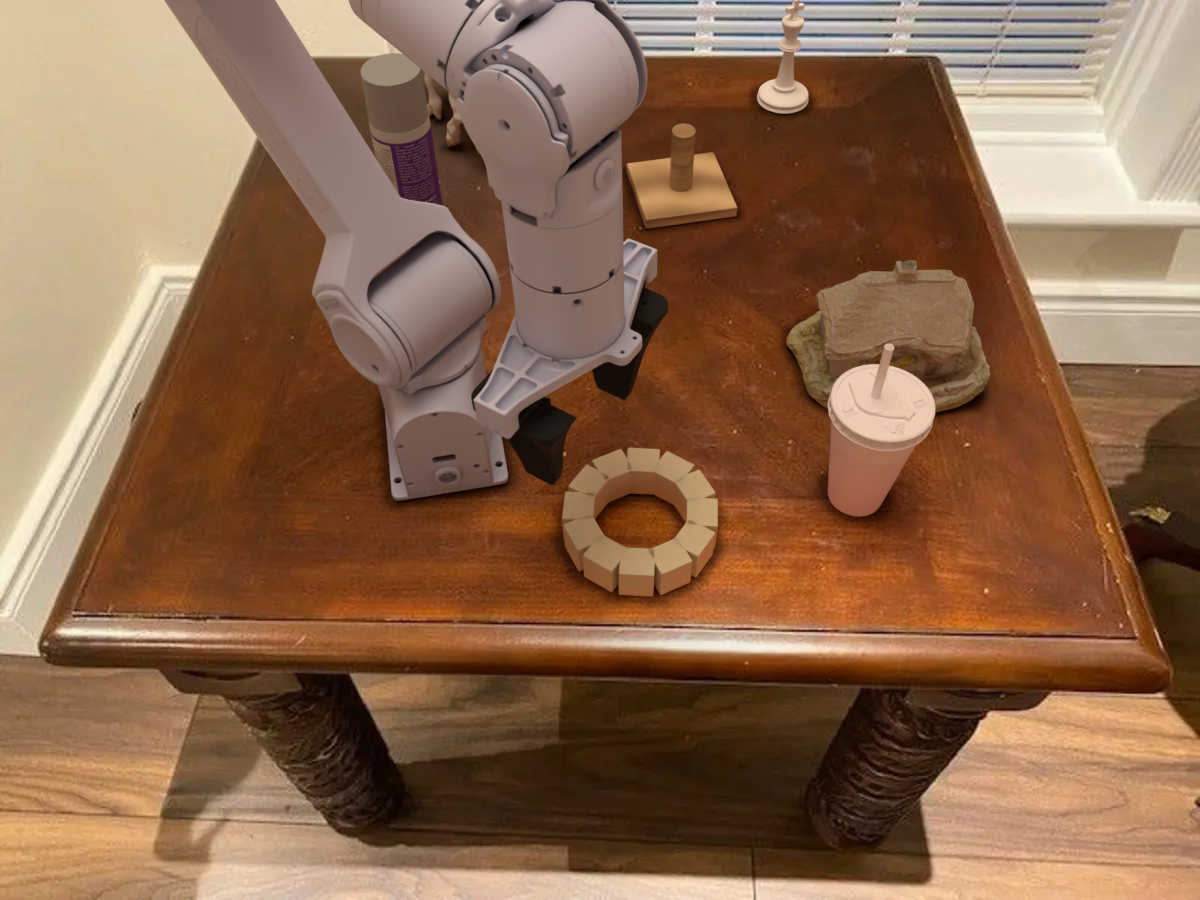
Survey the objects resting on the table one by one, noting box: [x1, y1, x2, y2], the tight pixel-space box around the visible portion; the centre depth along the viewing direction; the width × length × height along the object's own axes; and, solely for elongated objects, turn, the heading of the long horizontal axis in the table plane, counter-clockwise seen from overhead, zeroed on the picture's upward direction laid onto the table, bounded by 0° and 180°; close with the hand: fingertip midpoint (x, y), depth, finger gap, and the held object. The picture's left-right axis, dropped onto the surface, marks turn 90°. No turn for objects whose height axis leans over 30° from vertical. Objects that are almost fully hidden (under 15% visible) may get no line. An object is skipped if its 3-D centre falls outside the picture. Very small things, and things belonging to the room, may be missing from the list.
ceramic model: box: [785, 259, 991, 413], centre depth 74 cm, size 14×11×10 cm
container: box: [360, 52, 444, 248], centre depth 82 cm, size 5×5×15 cm
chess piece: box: [756, 0, 809, 115], centre depth 95 cm, size 5×5×10 cm
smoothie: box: [827, 344, 936, 517], centre depth 65 cm, size 6×6×14 cm
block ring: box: [561, 447, 719, 597], centre depth 68 cm, size 10×10×3 cm
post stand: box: [626, 123, 738, 230], centre depth 88 cm, size 8×8×6 cm
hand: (579, 431), depth 62 cm, fingers open, 7 cm apart
